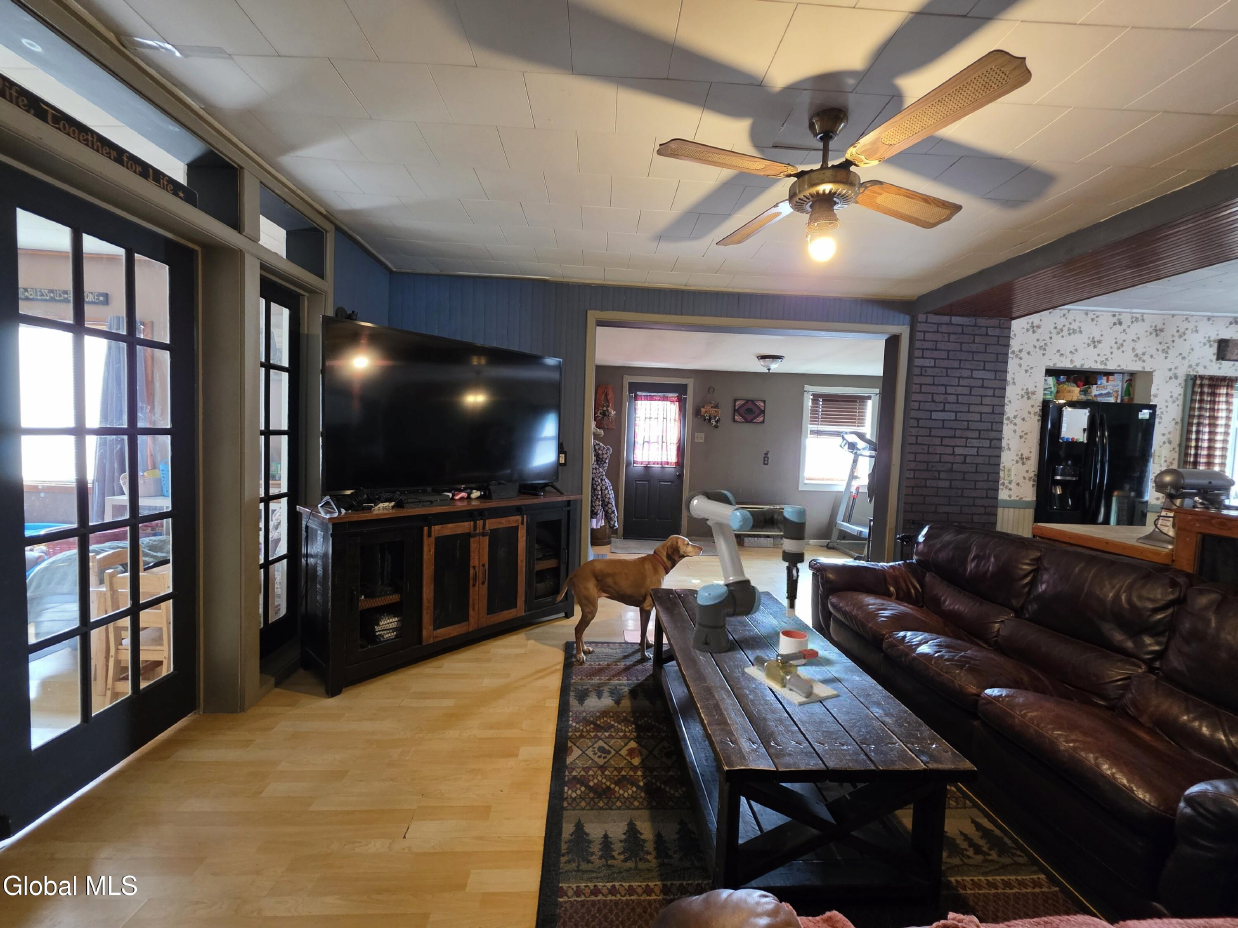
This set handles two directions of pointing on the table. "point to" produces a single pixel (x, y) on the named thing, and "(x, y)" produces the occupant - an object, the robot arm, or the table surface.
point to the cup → (793, 643)
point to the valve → (783, 675)
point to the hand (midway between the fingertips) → (790, 616)
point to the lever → (797, 656)
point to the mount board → (818, 690)
